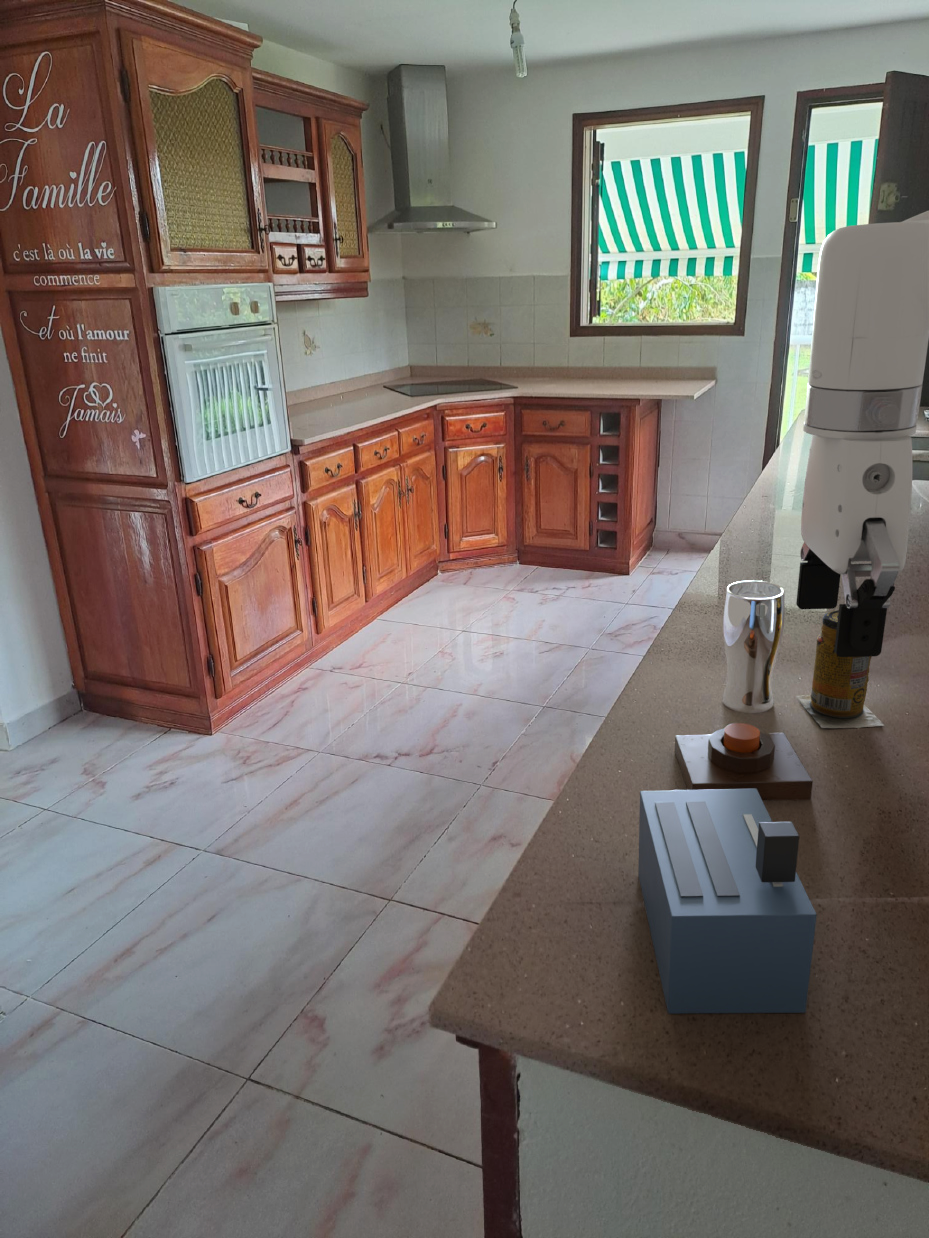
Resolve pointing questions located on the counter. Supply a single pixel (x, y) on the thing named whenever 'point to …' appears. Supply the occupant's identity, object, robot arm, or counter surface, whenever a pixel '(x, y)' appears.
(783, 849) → the toaster slider
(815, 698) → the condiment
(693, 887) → the toaster
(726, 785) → the block
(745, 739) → the button
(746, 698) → the beer glass
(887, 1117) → the counter surface
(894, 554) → the robot arm
